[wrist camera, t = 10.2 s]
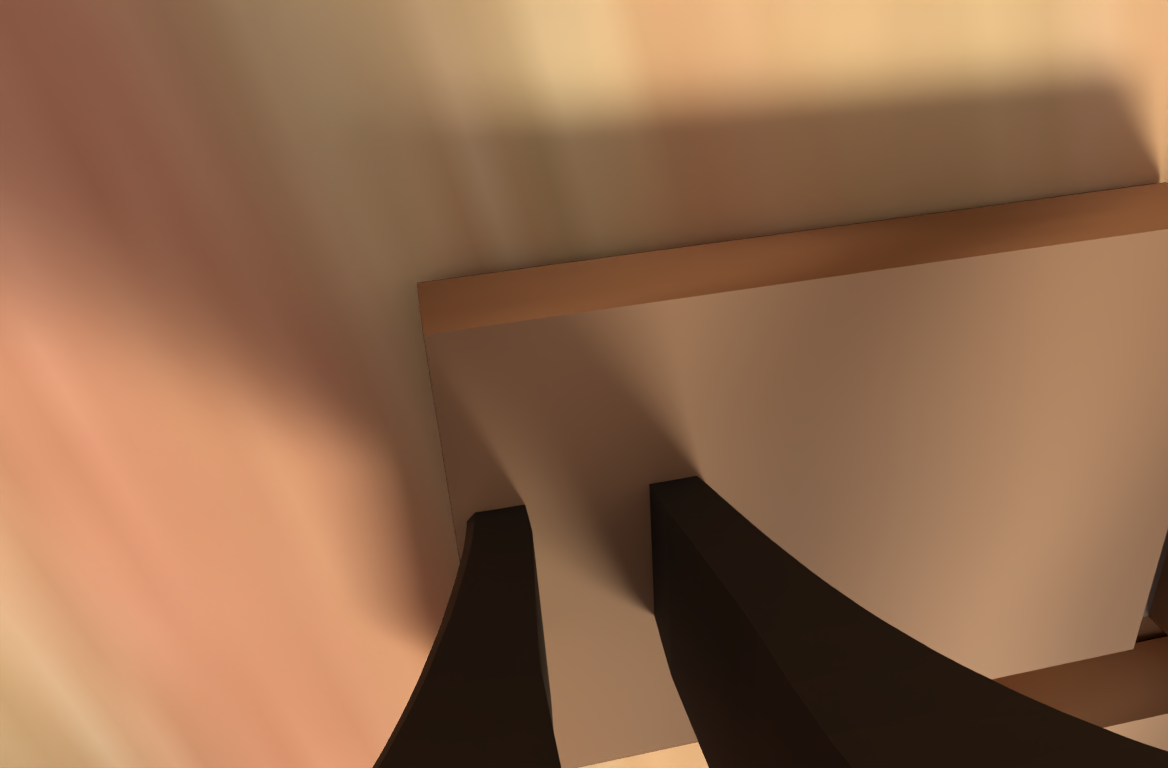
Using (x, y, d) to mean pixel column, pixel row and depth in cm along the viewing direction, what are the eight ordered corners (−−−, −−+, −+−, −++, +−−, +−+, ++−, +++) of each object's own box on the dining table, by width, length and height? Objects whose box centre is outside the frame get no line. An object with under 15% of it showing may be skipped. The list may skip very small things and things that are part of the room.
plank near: (1165, 182, 13) (1257, 216, 11) (1071, 587, 16) (1133, 648, 15) (416, 282, 11) (423, 335, 10) (484, 704, 15) (495, 784, 13)
